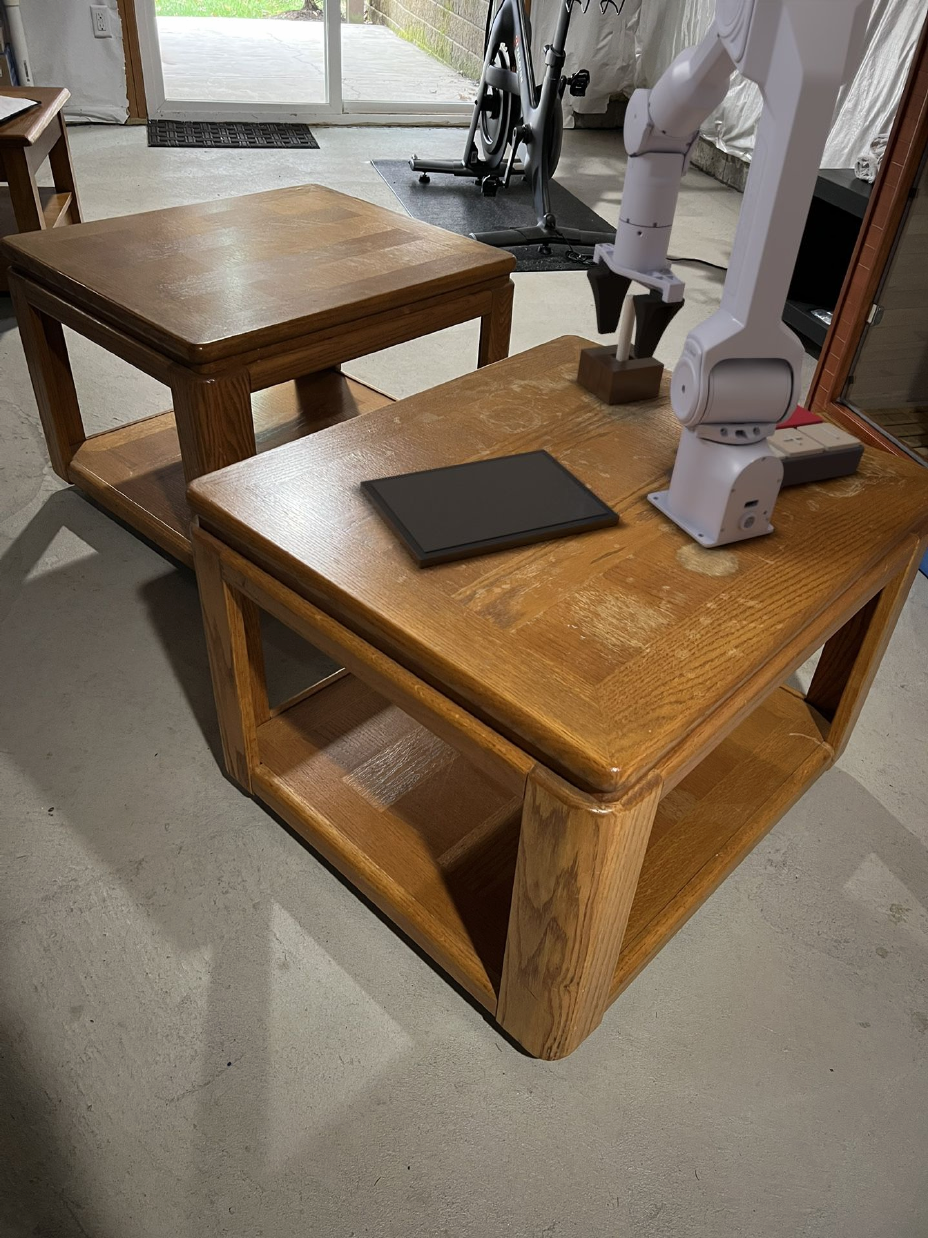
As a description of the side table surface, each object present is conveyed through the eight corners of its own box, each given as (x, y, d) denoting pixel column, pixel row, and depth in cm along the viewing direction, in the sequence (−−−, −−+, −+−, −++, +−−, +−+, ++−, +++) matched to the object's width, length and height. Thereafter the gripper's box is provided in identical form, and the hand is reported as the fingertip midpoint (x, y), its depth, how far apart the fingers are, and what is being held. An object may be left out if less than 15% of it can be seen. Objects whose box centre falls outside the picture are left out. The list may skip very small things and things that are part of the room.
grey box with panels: (870, 440, 95) (760, 458, 88) (855, 478, 97) (747, 498, 91) (794, 397, 102) (687, 411, 96) (782, 433, 105) (677, 449, 98)
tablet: (618, 524, 86) (620, 515, 85) (419, 568, 78) (420, 558, 78) (543, 456, 96) (544, 447, 95) (359, 489, 88) (359, 480, 87)
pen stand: (658, 396, 109) (664, 364, 107) (608, 405, 107) (613, 371, 104) (624, 373, 114) (630, 342, 112) (576, 381, 112) (580, 348, 109)
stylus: (625, 390, 110) (641, 297, 104) (615, 392, 110) (630, 298, 103) (618, 385, 111) (634, 293, 105) (608, 387, 111) (623, 294, 104)
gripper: (718, 236, 95) (690, 364, 104) (638, 200, 106) (618, 319, 114) (662, 241, 93) (638, 371, 101) (585, 203, 103) (569, 325, 111)
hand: (624, 344), depth 107 cm, fingers open, 7 cm apart
